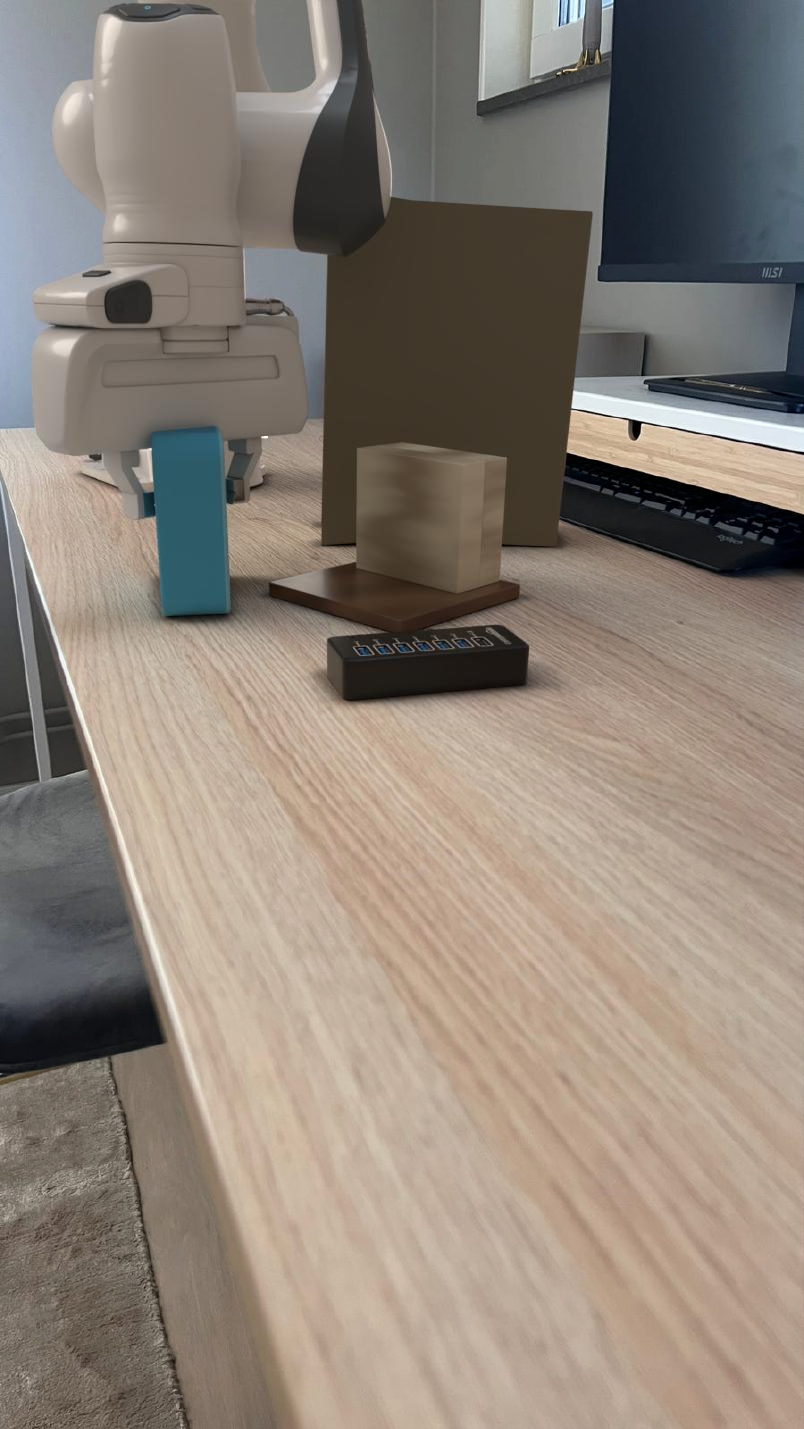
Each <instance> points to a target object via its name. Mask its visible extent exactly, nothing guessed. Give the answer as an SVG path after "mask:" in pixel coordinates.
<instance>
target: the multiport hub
mask: <svg viewBox="0 0 804 1429" xmlns="http://www.w3.org/2000/svg"><path fill="white" fill-rule="evenodd" d="M530 648H531V647H530V644H529V643H527V641H525V640H523V639H522V638H521V637H520V636H518V635H517V634H516V633H515V632H513V631H511V629H509V628H507V627H506V626H505V625H502V624H489V625H488V624H487V625H473V626H460V627H458V626H457V627H444V628H431V629H418V630H415V631H402V632H390V631H387V632H375V633H374V632H373V633H364V634H363V633H361V634H348V635H335V636H330V637H328V638H327V639H326V676H327V678H328V680H329V681H330V683H331V684H332V685H333V687H334V688H335V690H336V691H337V693H338V694H339V695H340V697H341V699H343V700H346V701H355V700H356V701H357V700H368V699H378V698H389V697H390V698H391V697H400V696H401V697H402V696H413V695H421V694H422V695H423V694H435V693H444V692H445V693H446V692H456V691H466V690H467V691H468V690H478V689H479V690H480V689H489V688H499V687H509V686H510V687H511V686H521V685H526V684H527V683H528V672H529V660H530V659H529V657H530Z"/></svg>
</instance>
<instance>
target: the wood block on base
mask: <svg viewBox="0 0 804 1429" xmlns="http://www.w3.org/2000/svg"><path fill="white" fill-rule="evenodd" d="M506 466H507V458H506V457H499V456H492V455H486V454H479V453H472V452H465V451H458V450H451V449H445V448H438V447H431V446H424V445H417V444H411V443H404V442H401V443H393V444H385V445H377V446H369V447H361V448H357V528H356V543H355V544H356V545H355V546H356V547H355V549H356V552H355V554H356V555H355V557H356V558H355V561H353V562H348V563H344V564H340V565H336V566H333V567H328V568H324V569H320V570H319V569H318V570H314V571H311V572H307V573H303V574H298V575H294V576H289V577H285V578H281V579H277V580H274V581H273V580H272V581H269V582H268V595H269V596H271V597H274V598H278V599H281V600H284V601H287V602H290V603H294V604H297V605H301V606H304V607H308V608H311V609H314V610H317V611H321V612H324V613H327V614H331V615H334V616H338V617H341V618H344V619H347V620H351V621H354V622H357V623H360V624H363V625H367V626H371V627H374V628H377V629H381V630H384V631H387V632H402V631H416V630H422V629H424V628H428V627H431V626H434V625H436V624H440V623H442V622H446V621H449V620H453V619H455V618H459V617H462V616H464V615H468V614H471V613H474V612H477V611H481V610H484V609H486V608H490V607H493V606H496V605H499V604H502V603H505V602H509V601H512V600H515V599H518V598H520V590H521V585H520V584H519V583H515V582H511V581H507V580H503V579H501V563H502V547H503V546H502V545H503V544H502V533H503V516H504V500H505V483H506Z"/></svg>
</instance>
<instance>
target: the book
mask: <svg viewBox="0 0 804 1429" xmlns="http://www.w3.org/2000/svg"><path fill="white" fill-rule="evenodd" d="M593 213H594V212H593V211H591V210H577V209H576V210H575V209H559V208H558V209H556V208H541V207H526V206H525V207H523V206H509V205H508V206H507V205H493V204H492V205H491V204H479V203H478V204H477V203H462V202H448V201H447V202H445V201H429V200H413V199H407V198H400V197H395V196H391V200H390V206H389V209H388V213H387V215H386V223H385V224H384V225H383V226H382V227H381V228H380V230H379V231H378V232H377V233H376V234H375V235H374V236H373V237H372V238H371V239H370V240H369V241H367V242H366V243H365V244H364V245H363V246H361V247H360V248H359V249H358V250H356V251H355V252H353V253H352V254H351V255H349V256H348V257H341V256H333V255H326V289H325V290H326V293H325V294H326V295H325V336H324V337H325V338H324V341H325V342H324V376H323V379H324V381H323V384H324V385H323V424H322V425H323V427H322V465H321V466H322V471H321V511H320V512H321V516H320V517H321V518H320V527H321V532H320V535H321V536H320V538H321V539H320V540H321V541H320V545H321V546H328V545H329V546H330V545H343V544H344V545H345V544H356V528H357V448H361V447H369V446H377V445H385V444H393V443H401V442H404V443H411V444H417V445H424V446H431V447H438V448H445V449H451V450H458V451H465V452H472V453H479V454H486V455H492V456H499V457H506V458H507V466H506V483H505V500H504V516H503V533H502V545H513V546H532V547H535V546H536V547H555V548H556V547H557V541H558V534H559V526H560V516H561V508H562V498H563V489H564V480H565V470H566V463H567V462H566V461H567V454H568V444H569V437H570V436H569V434H570V425H571V415H572V407H573V396H574V391H575V381H576V371H577V363H578V353H579V346H580V344H579V343H580V336H581V335H580V334H581V325H582V316H583V306H584V300H585V299H584V298H585V290H586V288H585V287H586V279H587V271H588V262H589V253H590V244H591V234H592V226H593V217H594V216H593V215H594V214H593Z"/></svg>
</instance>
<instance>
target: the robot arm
mask: <svg viewBox="0 0 804 1429" xmlns="http://www.w3.org/2000/svg"><path fill="white" fill-rule="evenodd" d="M256 5H257V0H137V2H131V3H119V4H115V5H113V6H110V7H108V9H106V10H105V11H104V12H102V13H101V14H99V16H98V18H97V22H96V26H95V34H94V35H95V36H94V44H93V45H94V47H93V62H92V63H93V64H92V78H89V79H82V80H75V81H73V82H71V83H70V84H69V85H68V86H67V87H66V88H65V89H64V91H63V92H62V93H61V95H60V97H59V99H58V101H57V102H56V105H55V108H54V111H53V114H52V122H51V123H52V124H51V141H52V147H53V151H54V154H55V158H56V160H57V162H58V165H59V167H60V169H61V171H62V172H63V174H64V176H65V177H66V179H67V180H68V182H69V183H70V184H71V185H72V186H73V188H74V189H75V190H77V191H78V192H79V193H80V194H81V195H83V196H84V197H85V198H86V199H87V200H88V201H89V202H90V203H91V204H93V206H94V207H95V208H96V209H97V210H98V211H99V212H100V214H102V216H103V217H104V218H105V219H104V224H103V228H102V233H101V234H102V235H101V237H102V238H101V242H102V243H101V244H102V256H103V263H101V264H98V265H95V266H93V267H90V268H87V269H85V270H82V271H80V272H77V273H74V274H71V275H68V276H66V277H63V278H61V279H57V280H55V281H52V282H48V283H46V284H43V285H41V286H39V287H37V288H36V289H35V290H34V291H33V293H32V308H33V313H34V316H35V318H36V320H37V321H38V322H40V323H41V324H44V325H49V327H46V328H45V329H43V330H42V331H41V332H40V333H39V334H38V335H37V337H36V339H35V341H34V343H33V347H32V352H31V365H30V366H31V371H30V372H31V376H30V378H31V380H30V381H31V403H32V414H33V422H34V423H33V424H34V429H35V433H36V435H37V438H38V439H39V440H40V441H41V442H42V444H43V445H44V447H46V449H47V450H49V451H50V452H53V453H56V454H61V455H66V456H72V457H83V456H88V458H89V459H90V460H93V461H89V462H87V463H83V464H82V465H81V473H82V474H83V475H87V476H88V477H91V478H94V479H97V480H99V481H101V482H104V483H107V484H110V485H112V486H114V487H117V489H118V490H119V491H121V504H122V512H123V515H124V517H125V518H127V519H129V520H134V521H140V520H145V519H150V518H154V517H155V518H156V514H155V499H154V484H153V470H152V454H151V434H152V433H153V432H156V431H166V430H177V429H188V428H199V427H209V426H217V427H218V428H219V430H220V432H221V434H222V437H223V443H224V455H225V478H226V503H227V504H228V505H232V506H233V505H239V504H240V505H241V504H247V503H249V502H250V499H251V487H255V486H258V485H260V484H262V483H263V482H264V478H263V477H264V476H266V474H267V471H266V465H265V464H261V456H262V454H263V447H262V446H263V445H262V440H263V439H268V437H276V436H277V437H278V436H286V435H287V436H288V435H296V434H297V435H298V434H300V433H302V431H303V429H304V427H305V425H306V423H307V421H308V419H309V399H308V398H309V397H308V385H307V378H306V370H305V363H304V362H305V361H304V356H303V352H302V348H301V344H300V324H299V320H298V318H297V316H296V315H295V314H294V312H293V311H292V310H291V308H290V307H289V306H287V305H286V304H285V302H284V301H283V300H281V299H280V298H276V297H265V298H263V299H262V298H254V297H247V296H246V266H245V261H246V260H245V249H259V250H260V249H261V250H263V249H265V250H298V251H299V252H302V253H308V254H309V253H310V254H318V255H324V256H327V255H333V256H341V257H348V256H349V255H351V254H352V253H353V252H355V251H356V250H358V249H359V248H360V247H361V246H363V245H364V244H365V243H366V242H367V241H369V240H370V239H371V238H372V237H373V236H374V235H375V234H376V233H377V232H378V231H379V230H380V228H381V227H382V226H383V225H384V224H385V223H386V215H387V213H388V209H389V206H390V200H391V197H392V192H393V170H392V161H391V154H390V149H389V145H388V140H387V135H386V133H385V129H384V126H383V123H382V119H381V116H380V112H379V109H378V106H377V101H376V98H375V89H374V80H373V72H372V61H371V52H370V43H369V33H368V26H367V18H366V9H365V1H364V0H306V8H307V15H308V24H309V25H308V26H309V32H310V39H311V48H312V55H313V56H312V57H313V65H314V72H315V73H314V74H315V79H314V80H313V82H312V83H311V84H310V85H309V86H307V87H304V88H303V89H300V90H297V91H293V92H273V91H272V89H271V87H270V85H269V82H268V80H267V77H266V74H265V71H264V69H263V65H262V61H261V57H260V52H259V47H258V40H257V30H256V11H257V10H256V7H257V6H256ZM283 313H285V314H286V315H284V314H283ZM262 438H263V439H262Z"/></svg>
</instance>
